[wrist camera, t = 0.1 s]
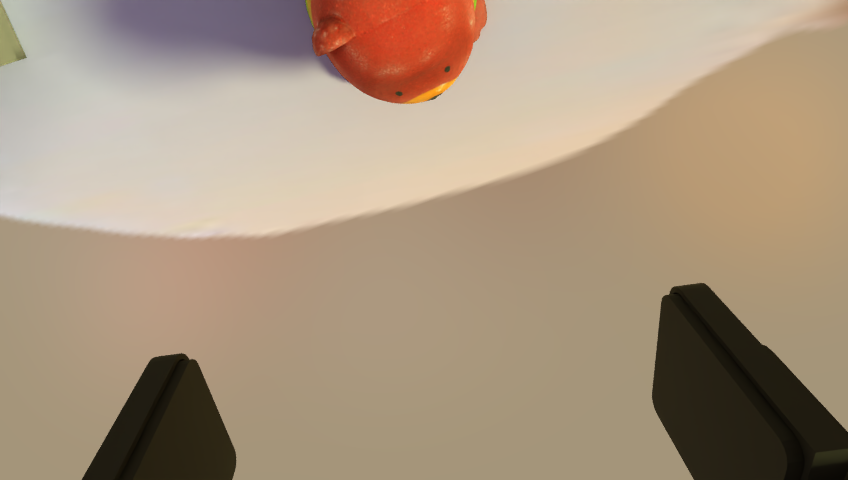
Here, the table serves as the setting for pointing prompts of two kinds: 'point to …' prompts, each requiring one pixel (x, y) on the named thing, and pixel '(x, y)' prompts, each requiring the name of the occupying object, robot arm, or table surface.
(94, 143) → the table surface
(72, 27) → the table surface
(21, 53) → the big crate
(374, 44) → the stacking bear
